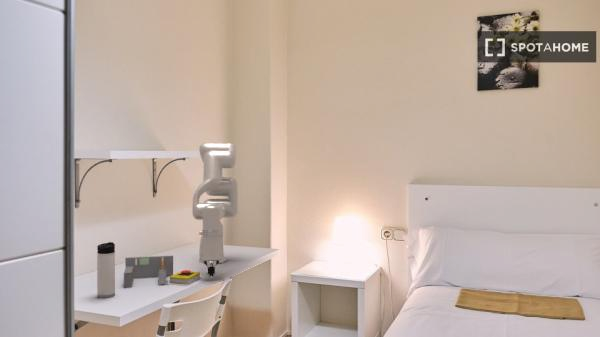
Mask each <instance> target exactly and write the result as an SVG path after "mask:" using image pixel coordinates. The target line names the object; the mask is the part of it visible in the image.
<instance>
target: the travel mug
mask: <svg viewBox="0 0 600 337" xmlns="http://www.w3.org/2000/svg"><path fill="white" fill-rule="evenodd" d="M96 247H97V251H96V253H97V254H96V255H97V256H96V257H97V260H96V261H97V263H96V264H97V271H96V274H97V279H96V280H97V282H96V283H97V287H96V288H97V289H96V290H97V293H96V294H97V298H101V299H106V298H108V299H109V298H112V297H114V296H115V295H116V251H115V250H116V244H115V243H114V242H112V241H109V242H106V243H101V244H98V245H97V246H96Z"/></svg>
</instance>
